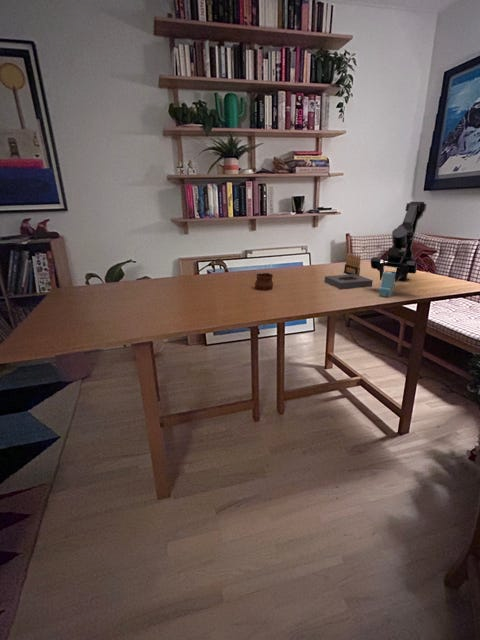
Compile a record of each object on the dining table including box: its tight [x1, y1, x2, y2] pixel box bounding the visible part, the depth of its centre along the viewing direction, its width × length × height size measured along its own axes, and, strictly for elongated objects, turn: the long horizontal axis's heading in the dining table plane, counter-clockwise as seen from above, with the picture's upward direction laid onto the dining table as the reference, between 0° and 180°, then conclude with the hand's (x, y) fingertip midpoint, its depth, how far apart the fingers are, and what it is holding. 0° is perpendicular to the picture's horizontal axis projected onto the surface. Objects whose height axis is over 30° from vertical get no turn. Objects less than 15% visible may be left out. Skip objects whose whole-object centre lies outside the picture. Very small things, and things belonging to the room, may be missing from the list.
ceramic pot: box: [254, 272, 274, 291], centre depth 151 cm, size 18×18×7 cm
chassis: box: [323, 274, 374, 290], centre depth 159 cm, size 18×14×3 cm
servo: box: [378, 270, 396, 298], centre depth 141 cm, size 11×4×11 cm, turn 144°
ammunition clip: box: [343, 252, 361, 276], centre depth 176 cm, size 11×2×12 cm, turn 22°
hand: (387, 280), depth 140 cm, fingers open, 6 cm apart
